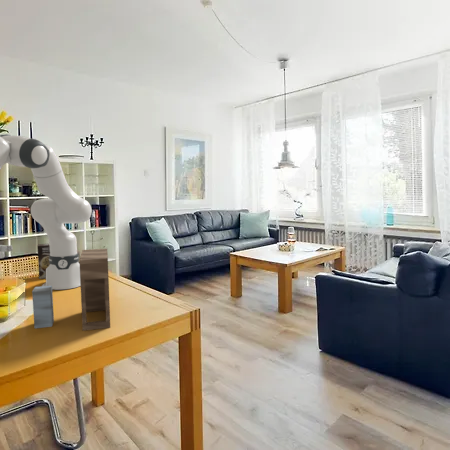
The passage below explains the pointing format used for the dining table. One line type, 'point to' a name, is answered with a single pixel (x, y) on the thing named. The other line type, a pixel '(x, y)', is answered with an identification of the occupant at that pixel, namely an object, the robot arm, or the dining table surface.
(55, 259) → the robot arm
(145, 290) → the dining table surface
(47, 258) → the coffee box
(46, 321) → the slate block
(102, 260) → the walnut box
